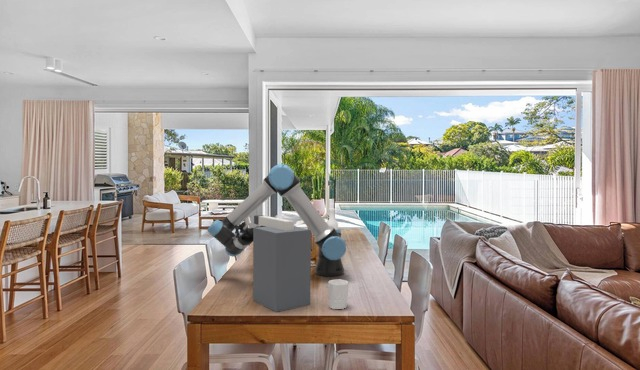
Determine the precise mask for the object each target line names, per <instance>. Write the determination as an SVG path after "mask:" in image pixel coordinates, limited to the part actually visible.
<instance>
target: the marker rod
mask: <svg viewBox="0 0 640 370" xmlns="http://www.w3.org/2000/svg"><path fill="white" fill-rule="evenodd" d="M274 217H275V216H268V215H262V214H260V215H259V214H257V215H254V216H253V224H255V225H258V226H266V227H271V228H275V229H280V230H284V231H290V230H294V227H295V226H294V225H295V221H294V220H290V219H285V218H280V217H278V218H274Z"/></svg>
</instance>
